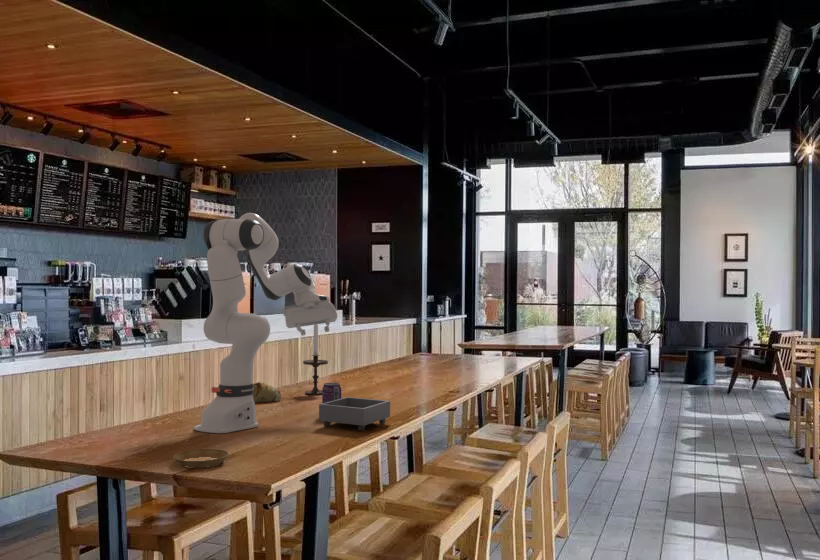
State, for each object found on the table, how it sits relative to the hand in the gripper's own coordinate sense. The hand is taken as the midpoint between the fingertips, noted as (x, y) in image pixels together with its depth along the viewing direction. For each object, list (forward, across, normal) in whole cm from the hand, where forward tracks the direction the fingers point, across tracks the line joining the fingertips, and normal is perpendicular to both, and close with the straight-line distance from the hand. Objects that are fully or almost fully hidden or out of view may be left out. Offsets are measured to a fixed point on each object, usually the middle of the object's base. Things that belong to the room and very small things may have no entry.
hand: (315, 332), depth 288 cm
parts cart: (+44, +3, -7) cm, 44 cm away
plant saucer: (+60, -52, -39) cm, 89 cm away
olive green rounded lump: (+4, -18, +42) cm, 46 cm away
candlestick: (+1, +6, +51) cm, 52 cm away
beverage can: (+32, 0, +9) cm, 33 cm away
